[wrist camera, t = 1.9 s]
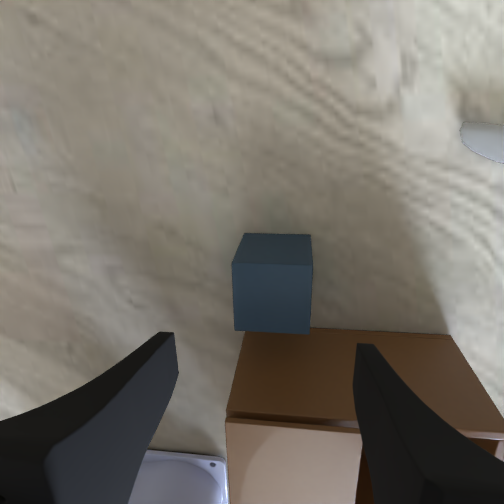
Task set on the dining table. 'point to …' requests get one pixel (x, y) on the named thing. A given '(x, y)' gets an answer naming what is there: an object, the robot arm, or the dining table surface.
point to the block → (273, 283)
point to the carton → (335, 411)
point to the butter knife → (484, 139)
